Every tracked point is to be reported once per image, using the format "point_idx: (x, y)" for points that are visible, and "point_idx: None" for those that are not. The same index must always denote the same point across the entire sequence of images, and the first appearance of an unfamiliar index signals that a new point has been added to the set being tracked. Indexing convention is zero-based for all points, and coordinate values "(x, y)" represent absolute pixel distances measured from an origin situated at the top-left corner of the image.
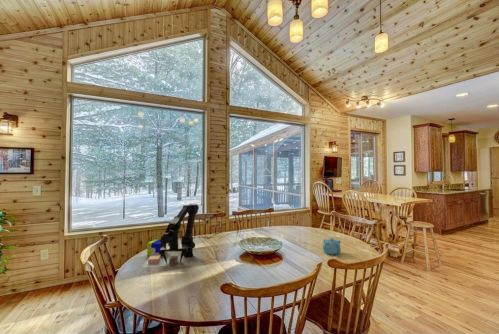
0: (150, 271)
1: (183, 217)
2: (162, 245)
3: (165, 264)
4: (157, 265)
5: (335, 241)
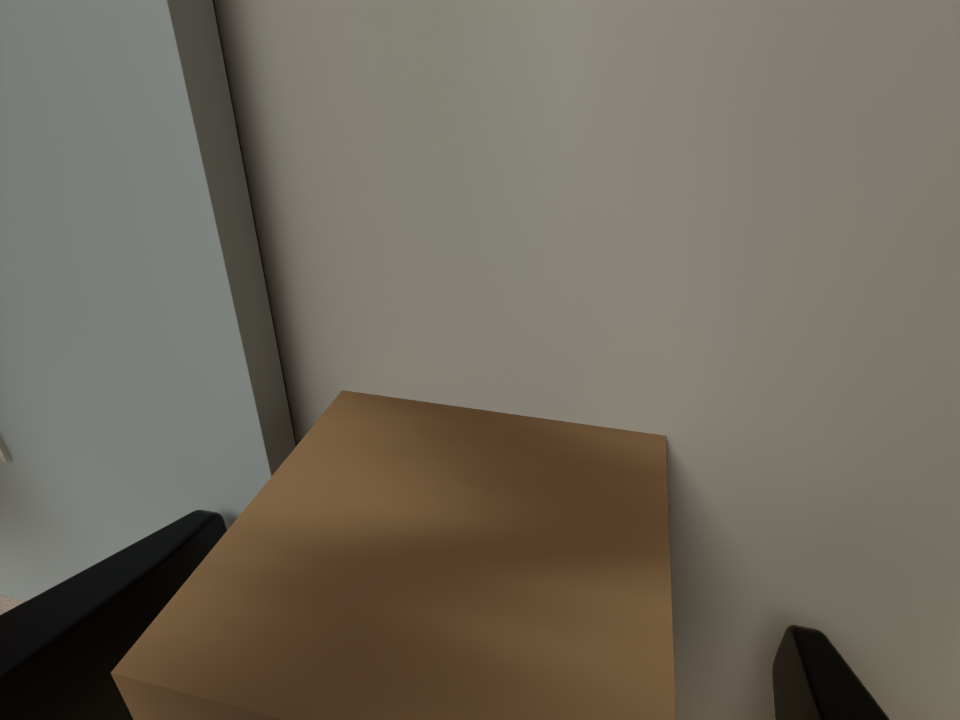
0: None
1: None
2: None
3: None
4: (16, 554)
5: None
